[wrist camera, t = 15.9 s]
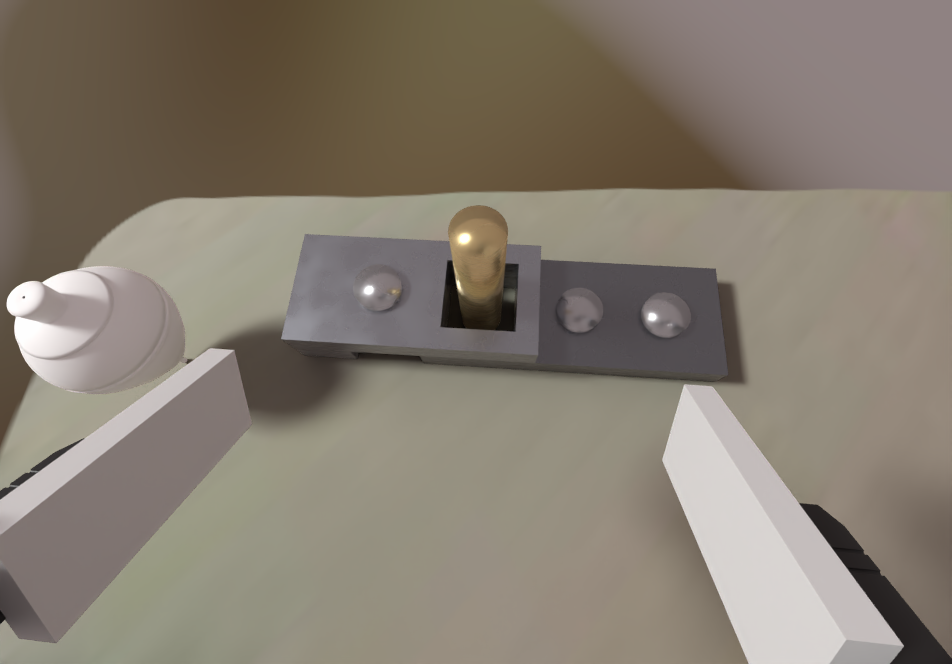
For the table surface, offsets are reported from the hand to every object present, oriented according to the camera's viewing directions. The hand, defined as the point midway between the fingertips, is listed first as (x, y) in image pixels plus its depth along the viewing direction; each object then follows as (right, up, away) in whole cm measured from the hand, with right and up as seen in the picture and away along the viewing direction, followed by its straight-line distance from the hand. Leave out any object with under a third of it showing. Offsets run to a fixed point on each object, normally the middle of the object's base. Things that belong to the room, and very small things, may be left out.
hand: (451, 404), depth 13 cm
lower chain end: (+8, +3, +20) cm, 22 cm away
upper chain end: (-3, +4, +20) cm, 21 cm away
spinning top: (-21, 0, +20) cm, 29 cm away
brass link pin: (+1, +3, +20) cm, 20 cm away
